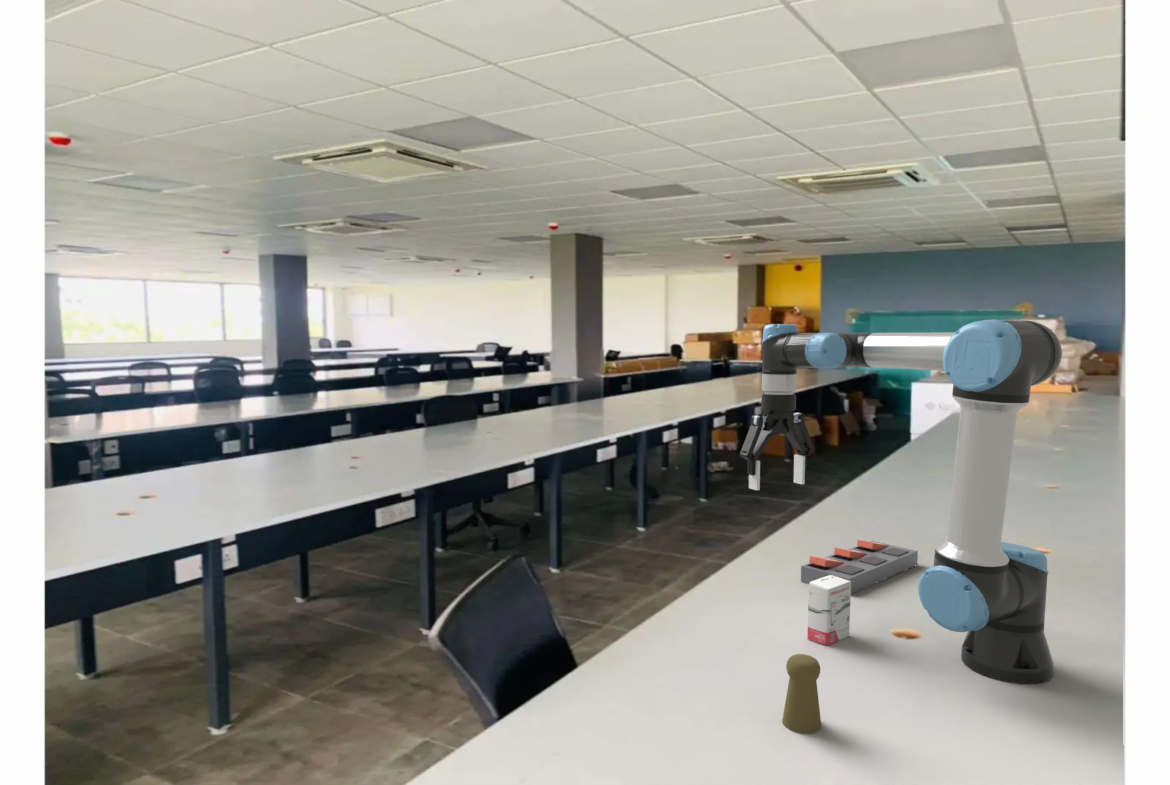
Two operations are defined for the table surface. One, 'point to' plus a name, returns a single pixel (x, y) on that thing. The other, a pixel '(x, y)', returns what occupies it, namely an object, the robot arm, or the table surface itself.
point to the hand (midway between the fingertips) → (777, 486)
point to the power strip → (864, 566)
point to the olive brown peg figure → (802, 695)
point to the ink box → (828, 609)
